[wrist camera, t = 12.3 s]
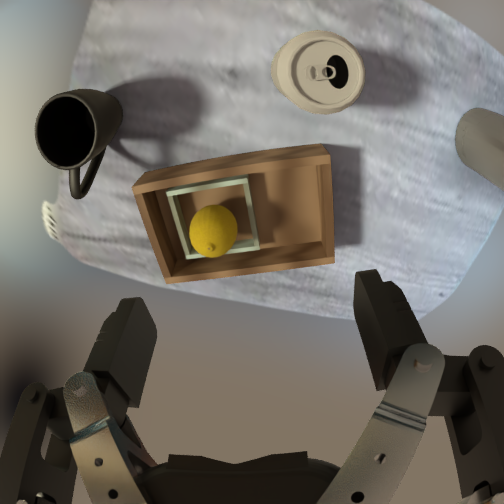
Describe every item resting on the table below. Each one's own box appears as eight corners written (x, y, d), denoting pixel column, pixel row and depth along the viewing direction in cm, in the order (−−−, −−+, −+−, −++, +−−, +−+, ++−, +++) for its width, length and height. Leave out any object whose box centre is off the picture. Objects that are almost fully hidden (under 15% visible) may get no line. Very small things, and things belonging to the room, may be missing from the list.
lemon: (231, 189, 38) (226, 220, 31) (243, 228, 41) (241, 264, 34) (189, 200, 38) (175, 232, 32) (203, 237, 41) (194, 274, 35)
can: (338, 100, 32) (375, 116, 22) (274, 104, 33) (284, 121, 23) (332, 39, 28) (367, 28, 18) (266, 43, 29) (272, 30, 19)
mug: (79, 172, 37) (42, 202, 29) (76, 86, 30) (32, 96, 22) (132, 174, 37) (102, 206, 29) (134, 82, 31) (98, 89, 23)
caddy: (320, 143, 35) (330, 154, 31) (327, 242, 43) (334, 263, 39) (144, 172, 37) (131, 187, 33) (174, 262, 45) (166, 284, 41)
